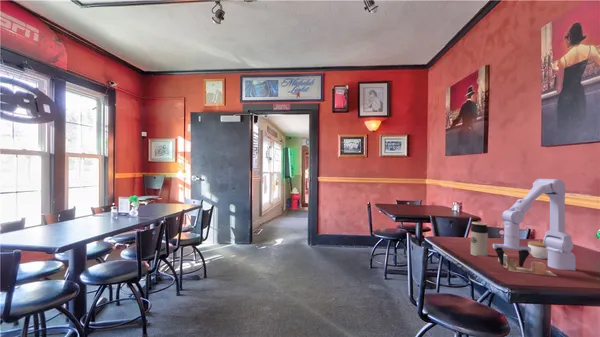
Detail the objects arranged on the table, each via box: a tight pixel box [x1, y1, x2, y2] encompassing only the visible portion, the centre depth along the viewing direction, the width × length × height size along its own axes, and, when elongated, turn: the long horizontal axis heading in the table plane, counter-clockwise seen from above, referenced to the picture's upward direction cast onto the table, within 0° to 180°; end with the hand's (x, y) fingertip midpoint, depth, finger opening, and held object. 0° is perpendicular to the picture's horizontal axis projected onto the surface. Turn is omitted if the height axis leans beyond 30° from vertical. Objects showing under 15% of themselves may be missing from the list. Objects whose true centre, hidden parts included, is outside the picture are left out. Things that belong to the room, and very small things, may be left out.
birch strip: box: [503, 258, 558, 277], centre depth 131 cm, size 18×7×5 cm, turn 72°
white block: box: [497, 253, 509, 265], centre depth 141 cm, size 18×7×5 cm, turn 72°
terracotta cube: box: [530, 261, 547, 274], centre depth 130 cm, size 4×4×4 cm
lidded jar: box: [527, 239, 548, 260], centre depth 157 cm, size 11×11×9 cm
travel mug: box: [470, 221, 489, 258], centre depth 158 cm, size 8×8×18 cm
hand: (511, 265), depth 133 cm, fingers open, 7 cm apart
